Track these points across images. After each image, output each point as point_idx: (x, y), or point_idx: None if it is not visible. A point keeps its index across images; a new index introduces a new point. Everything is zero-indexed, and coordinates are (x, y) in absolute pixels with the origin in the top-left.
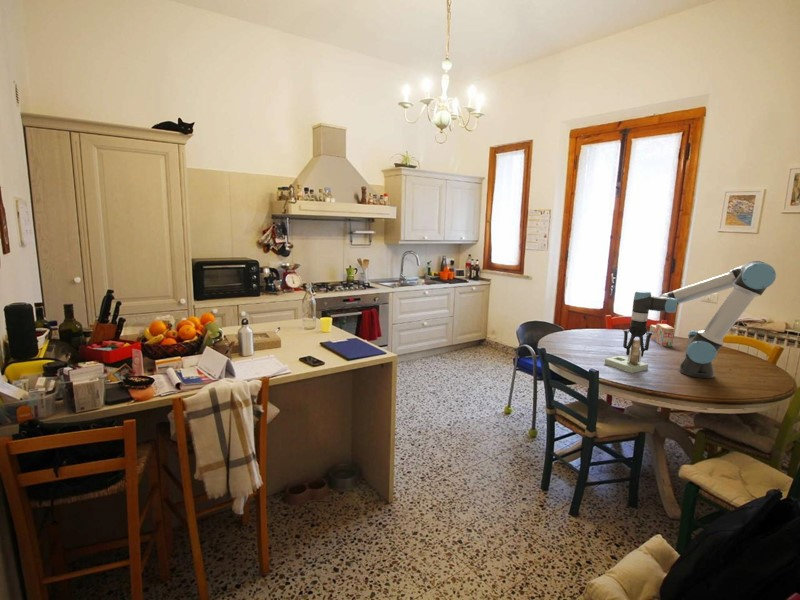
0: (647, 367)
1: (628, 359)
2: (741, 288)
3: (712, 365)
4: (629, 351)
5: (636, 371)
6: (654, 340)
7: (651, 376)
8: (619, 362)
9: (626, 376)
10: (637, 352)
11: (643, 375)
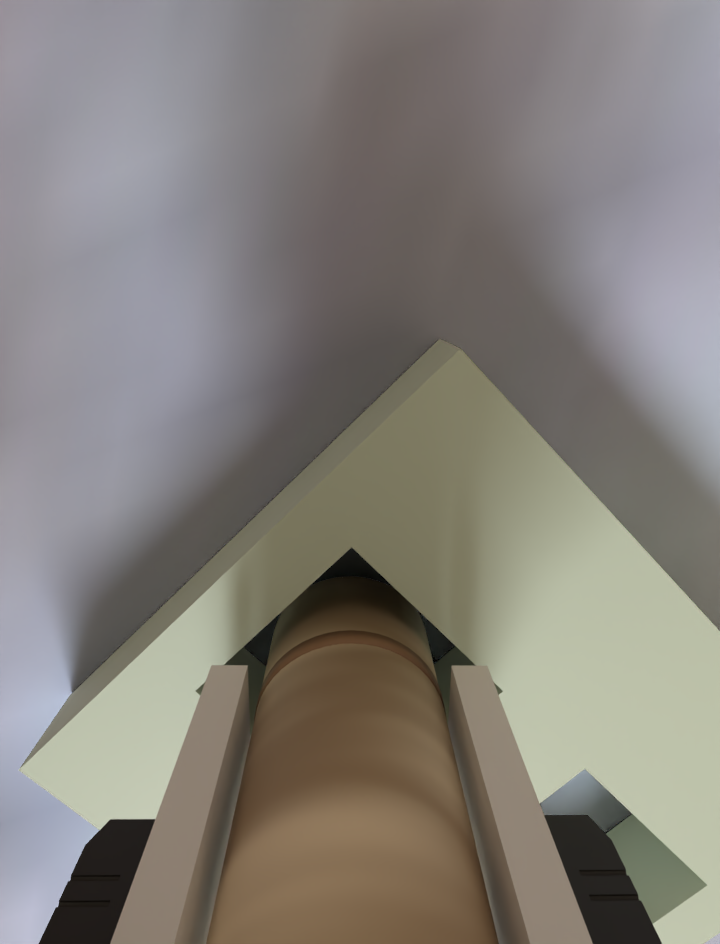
0: (64, 707)
1: (498, 715)
2: None
3: None
4: (580, 941)
5: (319, 455)
6: None
7: (61, 256)
8: (657, 656)
9: (620, 31)
10: (285, 899)
11: (219, 264)
